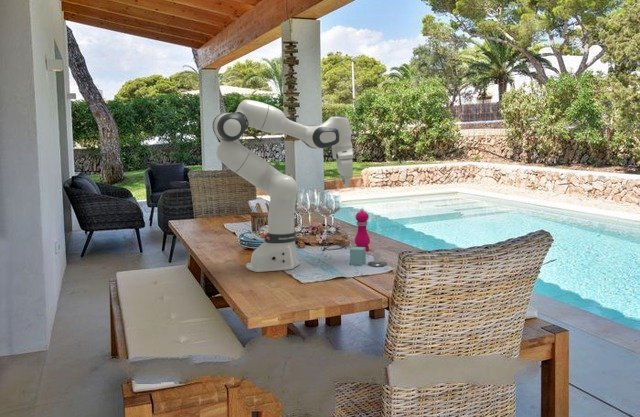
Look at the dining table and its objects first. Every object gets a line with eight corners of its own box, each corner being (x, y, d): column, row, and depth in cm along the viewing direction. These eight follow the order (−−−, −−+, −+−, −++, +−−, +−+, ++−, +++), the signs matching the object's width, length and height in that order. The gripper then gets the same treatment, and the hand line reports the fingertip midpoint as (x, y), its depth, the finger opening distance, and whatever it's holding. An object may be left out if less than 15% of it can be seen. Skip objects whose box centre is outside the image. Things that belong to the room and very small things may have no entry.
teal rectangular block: (361, 265, 249) (361, 249, 248) (350, 264, 251) (349, 249, 250) (365, 262, 253) (365, 247, 252) (354, 261, 255) (354, 246, 255)
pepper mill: (369, 252, 274) (368, 209, 271) (353, 251, 275) (353, 209, 273) (370, 248, 281) (370, 207, 278) (355, 248, 282) (355, 206, 280)
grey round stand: (383, 267, 244) (383, 254, 243) (365, 266, 247) (365, 252, 247) (389, 263, 251) (389, 250, 251) (371, 261, 255) (371, 249, 254)
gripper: (332, 152, 263) (335, 183, 265) (338, 156, 243) (342, 189, 245) (346, 151, 263) (349, 181, 266) (353, 154, 243) (357, 187, 246)
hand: (346, 185), depth 255 cm, fingers open, 8 cm apart
